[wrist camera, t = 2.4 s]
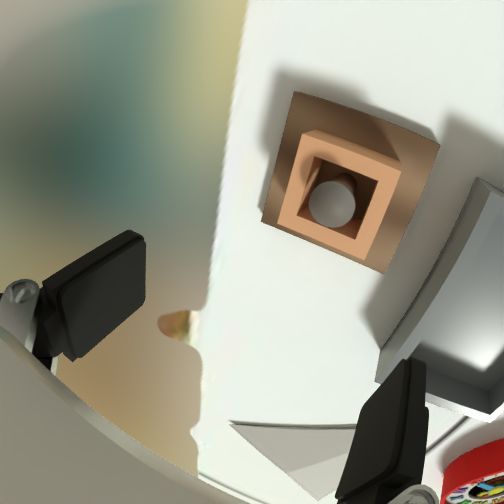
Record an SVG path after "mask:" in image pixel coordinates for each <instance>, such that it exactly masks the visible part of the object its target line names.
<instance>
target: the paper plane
mask: <svg viewBox="0 0 504 504" xmlns="http://www.w3.org/2000/svg"><path fill="white" fill-rule="evenodd" d="M229 425H230V426H231V427H232V428H233V429H234V430H236V431H237V432H238V433H239V434H240V435H241V436H242V437H243V438H244V439H246V440H247V441H248V442H249V443H250V444H251V445H252V446H254V447H255V448H256V449H257V450H258V451H259V452H260V453H262V454H263V455H264V456H265V457H266V458H268V459H269V460H270V461H271V462H272V463H274V464H275V465H276V466H277V467H279V468H280V469H281V470H282V471H284V472H285V473H286V474H287V475H288V476H289V477H290V478H292V479H293V480H294V481H295V482H296V483H297V484H298V485H300V486H301V487H302V488H303V489H304V490H305V491H307V492H308V493H309V494H310V495H311V496H313V497H314V498H315V499H316V500H317V501H319V500H320V499H322V498H323V497H325V496H327V495H328V494H330V493H331V492H333V491H334V490H336V489H337V488H338V485H339V482H340V479H341V476H342V473H343V470H344V467H345V464H346V461H347V457H348V454H349V451H350V447H351V444H352V441H353V437H354V434H355V430H356V428H301V427H265V426H246V425H233V424H229Z"/></svg>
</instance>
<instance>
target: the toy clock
mask: <svg viewBox="0 0 504 504" xmlns="http://www.w3.org/2000/svg"><path fill="white" fill-rule="evenodd" d="M440 504H504V439H500V440H497V441H493V442H491V443H488V444H485V445H483V446H480V447H478V448H475V449H473V450H471V451H469V452H467V453H465V454H464V455H462V456H461V457H459V458H457V459H456V460H455V461H454V462H452V463H451V464H450V465H449V466H448V467H447V469H446V471H445V473H444V478H443V486H442V494H441V500H440Z"/></svg>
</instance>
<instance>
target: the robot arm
mask: <svg viewBox="0 0 504 504" xmlns="http://www.w3.org/2000/svg"><path fill="white" fill-rule="evenodd" d="M145 271H146V243H145V241H144V238H143V236H141V235H140V234H138V233H136V232H133V231H132V230H126V231H125V232H123V233H121V234H119V235H117V236H116V237H114V238H112V239H111V240H109V241H107V242H105V243H104V244H102V245H100V246H99V247H97V248H95V249H94V250H92V251H90V252H89V253H87V254H85V255H84V256H82V257H80V258H79V259H77V260H76V261H74V262H72V263H71V264H69V265H67V266H66V267H64V268H63V269H61V270H60V271H58V272H56V273H55V274H53V275H52V276H50V277H49V278H47V279H46V280H44V281H42V284H43V287H42V288H41V289H40V288H39V285H38V284H37V283H36V282H35V281H33V280H30V279H20V280H17V281H14V282H13V283H11V284H10V285H9V286H7V288H6V289H5V291H4V293H0V504H250V503H248V502H245V501H243V500H241V499H239V498H236V497H234V496H232V495H230V494H228V493H226V492H224V491H222V490H220V489H218V488H216V487H214V486H212V485H210V484H208V483H206V482H204V481H202V480H200V479H198V478H196V477H195V476H193V475H191V474H189V473H187V472H186V471H184V470H182V469H180V468H179V467H177V466H175V465H174V464H172V463H170V462H169V461H167V460H165V459H164V458H162V457H160V456H159V455H157V454H156V453H154V452H153V451H151V450H149V449H148V448H146V447H145V446H143V445H142V444H140V443H139V442H137V441H136V440H134V439H133V438H132V437H130V436H129V435H127V434H126V433H124V432H123V431H122V430H120V429H119V428H117V427H116V426H115V425H114V424H112V423H111V422H110V421H108V420H107V419H106V418H104V417H103V416H102V415H100V414H99V413H98V412H97V411H95V410H94V409H93V408H92V407H90V406H89V405H88V404H87V403H85V402H84V401H83V400H82V399H81V398H79V397H78V396H77V395H76V394H75V393H73V392H72V391H71V390H70V389H69V388H68V387H67V386H66V385H65V384H63V383H62V382H61V381H60V380H59V379H58V378H57V377H56V368H57V361H58V355H59V354H60V353H62V352H63V354H64V355H65V356H66V357H67V358H68V359H70V360H71V361H72V362H73V361H74V360H76V359H77V358H81V357H83V356H84V355H86V354H87V353H88V352H89V351H90V350H91V349H92V348H93V347H95V346H96V345H97V344H98V343H99V342H100V341H101V340H102V339H104V338H105V337H106V336H107V335H108V334H110V333H111V332H112V331H113V330H114V329H115V328H116V327H117V326H119V325H120V324H121V323H122V322H123V321H125V320H126V319H127V318H128V317H129V316H130V315H131V314H133V313H134V312H135V311H136V310H137V309H139V308H140V307H141V306H142V305H143V303H144V301H145ZM425 395H426V363H425V362H423V361H421V360H418V359H416V358H413V357H409V358H408V359H407V360H406V359H402V360H401V361H400V362H399V363H398V364H397V366H396V367H395V368H394V369H393V371H392V372H391V373H390V374H389V376H388V377H387V378H386V379H385V381H384V382H383V383H382V384H381V385H380V386H379V388H378V389H377V390H376V391H375V392H374V393H373V395H372V396H371V397H370V398H369V399H368V400H367V401H366V403H365V404H364V405H363V407H362V409H361V411H360V415H359V419H358V422H357V426H356V430H355V434H354V437H353V441H352V444H351V447H350V451H349V454H348V457H347V461H346V464H345V467H344V470H343V473H342V476H341V479H340V482H339V485H338V488H337V491H336V494H335V498H336V499H338V502H337V504H439V499H438V497H437V495H436V493H435V492H434V491H433V490H432V489H431V488H430V487H428V486H426V485H421V481H422V475H423V468H424V461H425V453H426V444H427V434H428V422H429V410H428V408H427V407H425Z"/></svg>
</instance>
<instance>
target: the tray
mask: <svg viewBox="0 0 504 504" xmlns="http://www.w3.org/2000/svg"><path fill="white" fill-rule="evenodd" d="M409 357H413V358H416V359H418V360H421V361H423V362H425V363H426V395H425V401H426V402H429V403H432V404H434V405H437V406H440V407H443V408H446V409H448V410H451V411H454V412H457V413H460V414H463V415H466V416H469V417H472V418H475V419H478V420H481V421H485V422H488V423H491V422H492V421H493V420H494V419H496V418H497V417H498V416H499V415H500V414H501V413H502V412H504V192H502V191H500V190H499V189H497V188H495V187H494V186H492V185H490V184H488V183H487V182H485V181H483V180H481V179H479V178H478V177H476V179H475V181H474V184H473V186H472V188H471V191H470V193H469V195H468V198H467V200H466V202H465V205H464V207H463V209H462V211H461V213H460V215H459V218H458V220H457V222H456V224H455V226H454V228H453V230H452V232H451V234H450V236H449V238H448V240H447V242H446V244H445V246H444V248H443V250H442V252H441V254H440V255H439V257H438V259H437V261H436V263H435V265H434V266H433V268H432V270H431V272H430V274H429V275H428V277H427V279H426V281H425V282H424V284H423V286H422V287H421V289H420V291H419V292H418V294H417V296H416V297H415V299H414V301H413V302H412V304H411V306H410V307H409V309H408V310H407V312H406V313H405V315H404V317H403V318H402V320H401V321H400V323H399V324H398V326H397V327H396V329H395V330H394V332H393V333H392V335H391V336H390V338H389V339H388V341H387V342H386V343H385V345H384V346H383V348H382V349H381V351H380V355H379V361H378V366H377V371H376V376H375V381H374V382H377V383H379V384H382V383H383V382H384V381H385V379H386V378H387V377H388V376H389V374H390V373H391V372H392V371H393V369H394V368H395V367H396V366H397V364H398V363H399V362H400V361H401V360H402V359H406V360H407V359H408V358H409Z"/></svg>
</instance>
